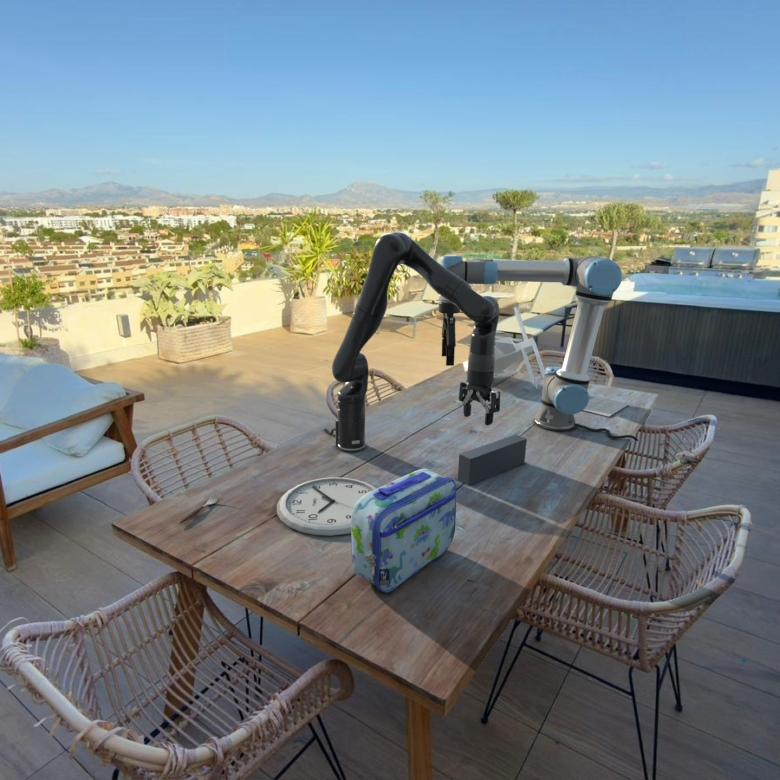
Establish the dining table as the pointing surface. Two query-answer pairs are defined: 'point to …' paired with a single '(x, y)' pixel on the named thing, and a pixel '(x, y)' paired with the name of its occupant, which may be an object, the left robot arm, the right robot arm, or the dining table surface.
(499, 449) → the bar
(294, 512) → the wall clock
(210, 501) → the fork
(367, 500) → the lunch box
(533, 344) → the white plastic object
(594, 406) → the invitation card
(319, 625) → the dining table surface
